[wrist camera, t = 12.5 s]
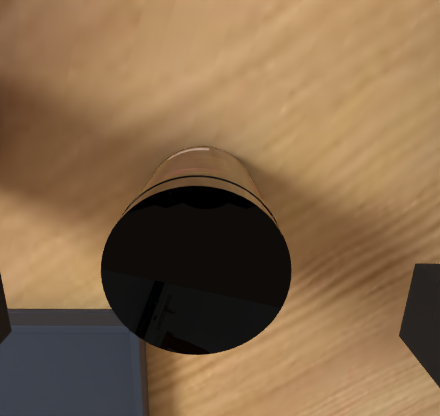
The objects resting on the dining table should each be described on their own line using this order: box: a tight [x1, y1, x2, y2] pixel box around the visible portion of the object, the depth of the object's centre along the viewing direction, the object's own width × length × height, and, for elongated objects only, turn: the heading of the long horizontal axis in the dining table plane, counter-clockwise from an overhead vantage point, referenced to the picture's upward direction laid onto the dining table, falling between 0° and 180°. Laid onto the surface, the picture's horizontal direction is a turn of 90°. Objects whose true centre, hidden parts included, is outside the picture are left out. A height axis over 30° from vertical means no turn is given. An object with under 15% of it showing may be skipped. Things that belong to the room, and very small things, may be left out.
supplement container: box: [101, 146, 291, 355], centre depth 17 cm, size 7×7×10 cm
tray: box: [0, 309, 149, 416], centre depth 25 cm, size 21×13×2 cm, turn 89°
